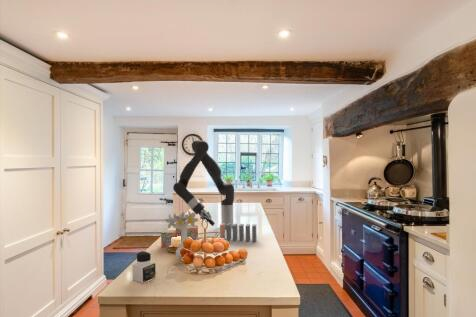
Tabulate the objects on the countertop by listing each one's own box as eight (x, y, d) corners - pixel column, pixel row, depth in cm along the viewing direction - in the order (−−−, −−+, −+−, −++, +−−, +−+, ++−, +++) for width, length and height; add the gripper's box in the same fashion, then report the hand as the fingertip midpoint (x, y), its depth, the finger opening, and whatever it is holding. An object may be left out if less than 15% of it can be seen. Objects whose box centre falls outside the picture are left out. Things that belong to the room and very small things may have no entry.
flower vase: (173, 253, 159) (172, 209, 158) (203, 255, 154) (203, 210, 154) (161, 261, 146) (160, 213, 146) (194, 264, 141) (193, 215, 141)
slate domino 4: (252, 241, 178) (252, 226, 177) (253, 239, 182) (253, 224, 182) (255, 242, 177) (255, 226, 177) (256, 239, 182) (256, 224, 182)
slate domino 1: (226, 240, 181) (226, 225, 181) (228, 238, 186) (228, 223, 186) (229, 240, 180) (229, 225, 180) (231, 238, 185) (231, 223, 185)
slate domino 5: (245, 241, 178) (245, 225, 178) (247, 239, 183) (246, 224, 183) (248, 241, 178) (248, 226, 178) (250, 239, 183) (249, 224, 183)
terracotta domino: (220, 240, 182) (219, 225, 182) (222, 238, 187) (221, 223, 187) (223, 240, 181) (222, 225, 181) (225, 238, 186) (224, 223, 186)
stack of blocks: (161, 247, 169) (160, 227, 169) (164, 244, 175) (164, 224, 175) (196, 248, 167) (195, 227, 167) (198, 244, 174) (198, 225, 174)
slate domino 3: (239, 241, 179) (239, 225, 179) (240, 239, 184) (240, 223, 184) (242, 241, 179) (242, 225, 179) (243, 239, 184) (243, 223, 184)
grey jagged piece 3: (232, 241, 180) (232, 225, 180) (234, 238, 185) (234, 223, 185) (235, 241, 180) (235, 225, 180) (237, 238, 185) (237, 223, 184)
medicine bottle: (143, 283, 121) (142, 256, 121) (132, 280, 125) (131, 253, 125) (156, 277, 127) (155, 251, 127) (145, 274, 131) (144, 248, 131)
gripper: (196, 203, 180) (214, 223, 178) (202, 200, 193) (220, 218, 191) (188, 211, 182) (206, 231, 179) (195, 207, 194) (212, 226, 192)
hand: (213, 224), depth 185 cm, fingers closed
